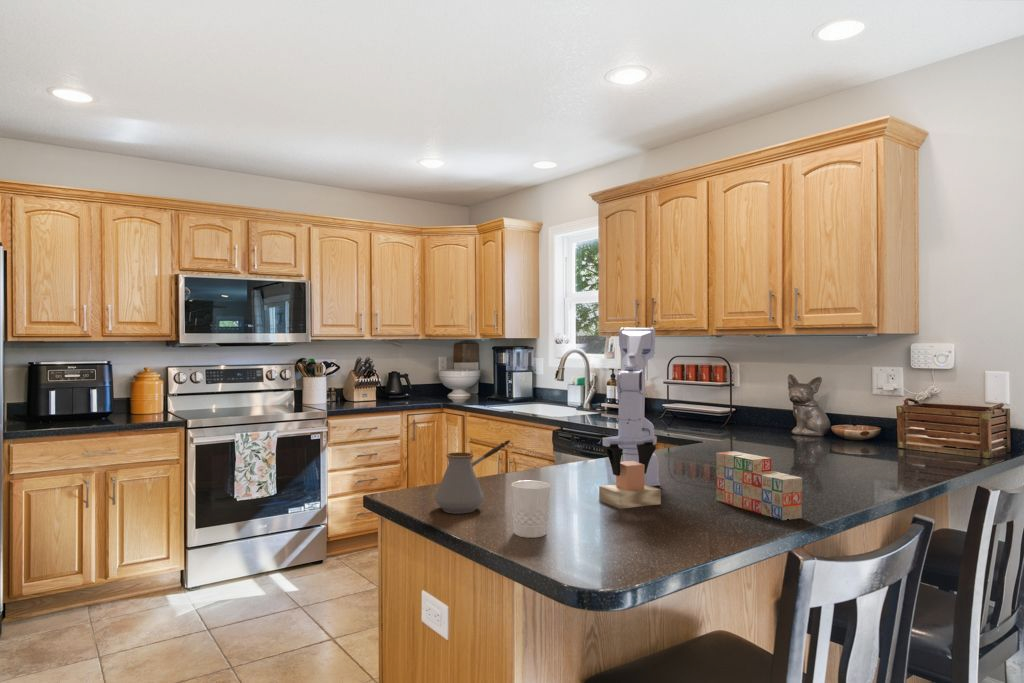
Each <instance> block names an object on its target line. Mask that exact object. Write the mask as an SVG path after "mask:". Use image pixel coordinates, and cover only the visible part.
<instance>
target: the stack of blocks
mask: <svg viewBox="0 0 1024 683" xmlns="http://www.w3.org/2000/svg"><path fill="white" fill-rule="evenodd" d="M715 454H716V456H715V457H716V462H715V463H716V465H715V467H716V471H715V474H716V491H715V492H716V501H718V502H720V503H724V504H727V505H730V506H734V507H736V508H740V509H743V510H747V511H749V512H753V511H754V513H756V512H757V514H760V513H761V515H763V516H767V517H769V516H770V518H772V517H774V518H773V519H776V518H777V519H776V520H779V519H780V521H787V519H789V520H797V519H802V518H803V517H802V515H803V514H802V508H803V506H802V504H803V502H802V501H803V493H802V491H803V477H802V476H801V477H800V476H797V475H796V476H795V475H791V474H787V473H784V472H783V473H782V472H779V471H773V470H772V458H771V457H768V456H761V455H756V454H751V453H745V452H741V451H735V450H734V451H723V452H716V453H715Z"/></svg>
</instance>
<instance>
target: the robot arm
mask: <svg viewBox="0 0 1024 683" xmlns="http://www.w3.org/2000/svg"><path fill="white" fill-rule="evenodd" d="M618 346H619V349H620V350H619V351H620V354H621V357H622V360H621V364H620V372H617V374H616V392H617V401H618V417H617V418H618V420H617V421H618V423H617V426H618V429H617V430H618V433H617V434H618V435H615V436H608V437H602V446H603V449H604V452H605V454H607V455H606V456H607V457H608V459H609V463H610V465H611V470H612V475H614V476H620V463H621V462H624V461H635V462H638V463H641V464H644V465H645V470H644V484H646V485H649V486H652V487H657V486H658V487H659V486H661V483H659V472H660V470H659V466H660V465H659V464H660V463H659V459H658V456H657V454H656V453H655V451H656V450H657V445H656V444H657V442H658V437H657V435H655V426H654V424H653V423H652V422H651V421H650V420H649V419H647V418H646V417H645V399H646V396H645V395H646V367H647V363H648V361H649V360H651V359H653V358H654V355H655V353H656V352H655V351H656V350H655V349H656V329H655V328H654V327H653V326H652V327H624V326H623V327H622V326H621V328H620V329H619V331H618Z"/></svg>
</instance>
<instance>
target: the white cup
mask: <svg viewBox="0 0 1024 683" xmlns="http://www.w3.org/2000/svg"><path fill="white" fill-rule="evenodd" d="M510 485H511V509H512V510H511V511H512V521H513V523H512V524H513V525H512V526H513V534H514V535H515V536H517V537H521V538H527V539H528V538H532V539H533V538H541V537H544V536H546V534H548V520H549V508H550V489H551V488H550V487H551V484H550V483H548V482H546V481H540V480H532V479H531V480H518V481H514V482H512V483H511V484H510Z"/></svg>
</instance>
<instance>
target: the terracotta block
mask: <svg viewBox="0 0 1024 683" xmlns="http://www.w3.org/2000/svg"><path fill="white" fill-rule="evenodd" d="M644 470H645V465H644V464H641V463H638V462H635V461H624V462H623V461H621V463H620V476H616V475H615V476H616V477H615V485H616V486H617V487H620V488H622V489H624V490H638V489H644Z"/></svg>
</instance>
